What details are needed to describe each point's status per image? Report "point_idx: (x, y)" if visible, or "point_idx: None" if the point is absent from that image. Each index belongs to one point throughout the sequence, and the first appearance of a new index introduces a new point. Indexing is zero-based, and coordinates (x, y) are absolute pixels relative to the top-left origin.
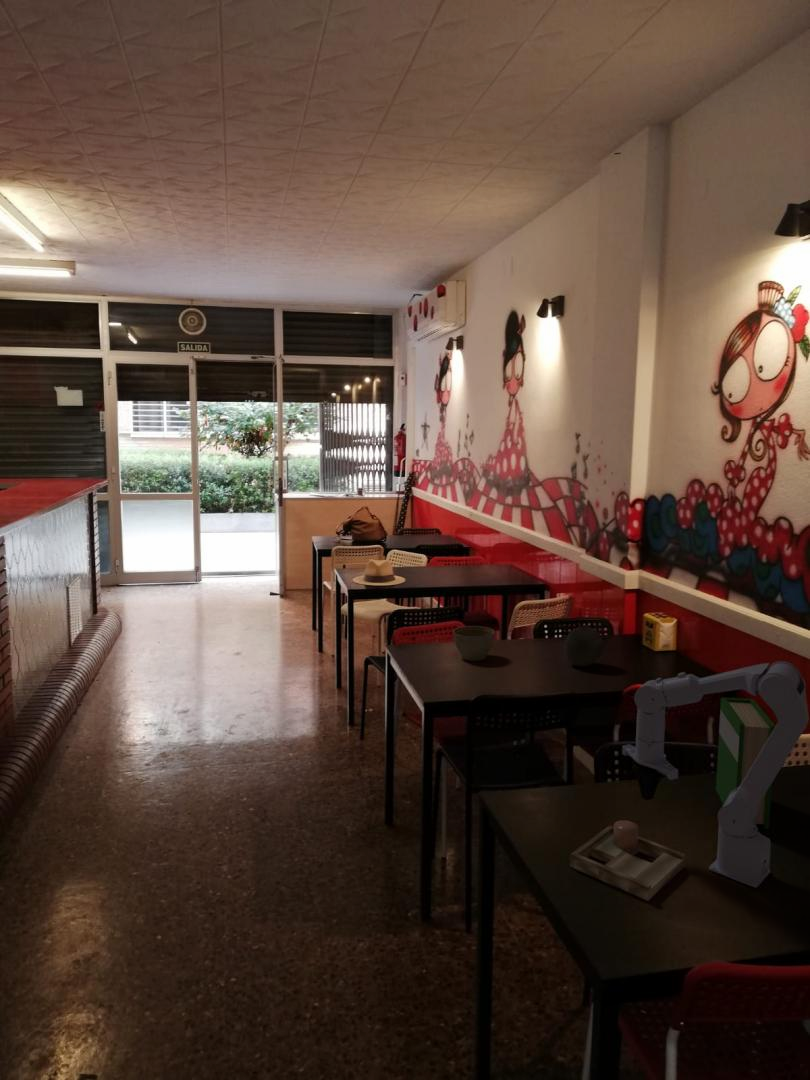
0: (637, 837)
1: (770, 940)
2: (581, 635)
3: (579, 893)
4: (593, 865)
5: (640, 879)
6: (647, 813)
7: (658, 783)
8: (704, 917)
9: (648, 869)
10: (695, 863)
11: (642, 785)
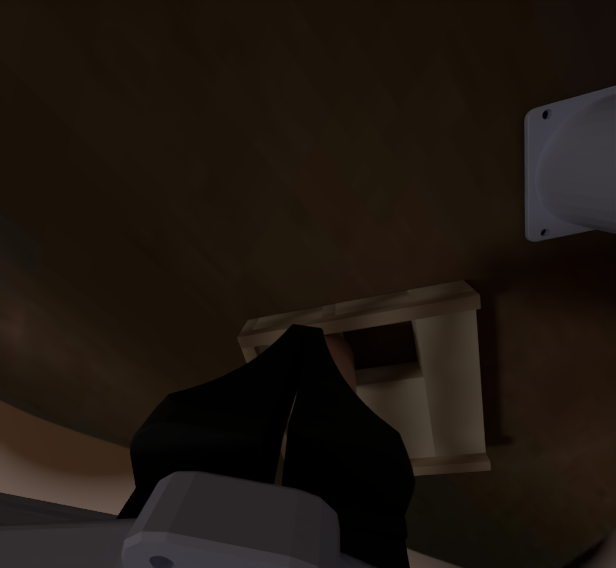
0: (353, 370)
1: None
2: None
3: None
4: None
5: (446, 441)
6: (187, 107)
7: (343, 377)
8: (602, 406)
9: (435, 402)
10: (476, 239)
11: (285, 428)
